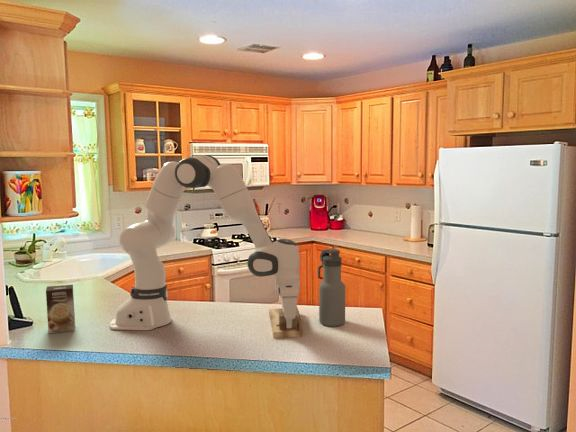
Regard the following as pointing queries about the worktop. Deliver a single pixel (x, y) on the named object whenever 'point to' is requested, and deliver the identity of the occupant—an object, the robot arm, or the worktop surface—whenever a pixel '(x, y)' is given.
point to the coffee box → (60, 308)
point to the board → (284, 333)
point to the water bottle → (331, 289)
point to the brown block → (283, 322)
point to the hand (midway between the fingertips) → (287, 323)
